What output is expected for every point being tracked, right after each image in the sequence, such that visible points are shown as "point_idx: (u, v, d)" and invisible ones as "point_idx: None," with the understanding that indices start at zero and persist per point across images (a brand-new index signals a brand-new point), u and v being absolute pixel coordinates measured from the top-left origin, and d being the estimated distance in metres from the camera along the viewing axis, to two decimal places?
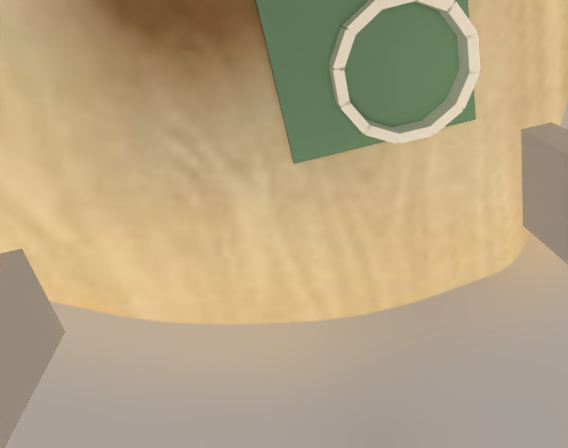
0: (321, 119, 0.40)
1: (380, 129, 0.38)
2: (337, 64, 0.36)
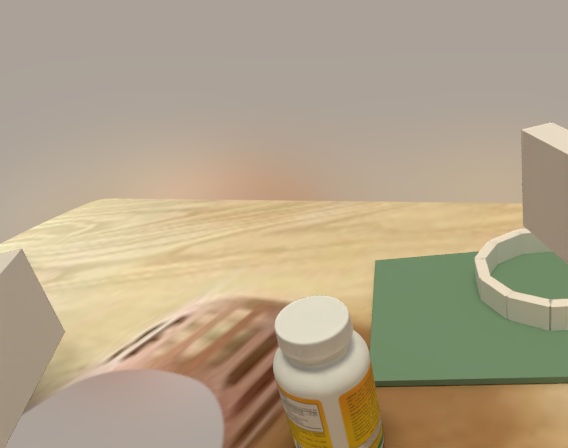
0: None
1: None
2: (545, 303, 0.34)
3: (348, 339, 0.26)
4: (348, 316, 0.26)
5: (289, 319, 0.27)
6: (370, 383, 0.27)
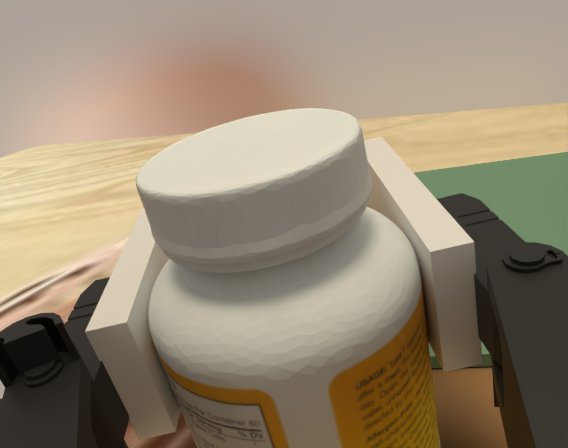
0: None
1: None
2: None
3: (359, 197, 0.08)
4: (359, 129, 0.08)
5: (184, 155, 0.09)
6: (423, 344, 0.09)
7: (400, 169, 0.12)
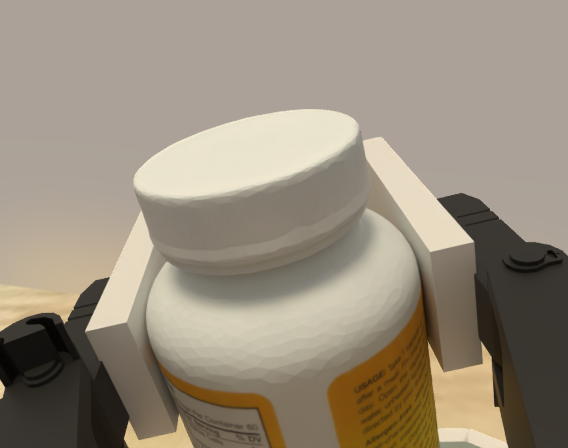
0: None
1: None
2: None
3: (358, 199, 0.08)
4: (358, 131, 0.08)
5: (182, 156, 0.09)
6: (422, 346, 0.09)
7: (400, 169, 0.12)
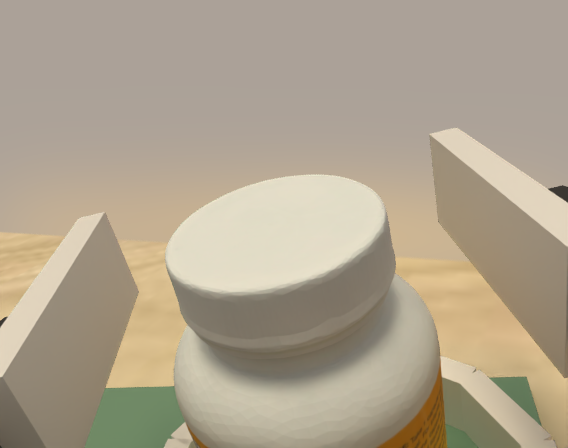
0: None
1: None
2: None
3: (385, 283, 0.08)
4: (384, 214, 0.08)
5: (210, 229, 0.09)
6: (440, 410, 0.10)
7: (494, 160, 0.11)
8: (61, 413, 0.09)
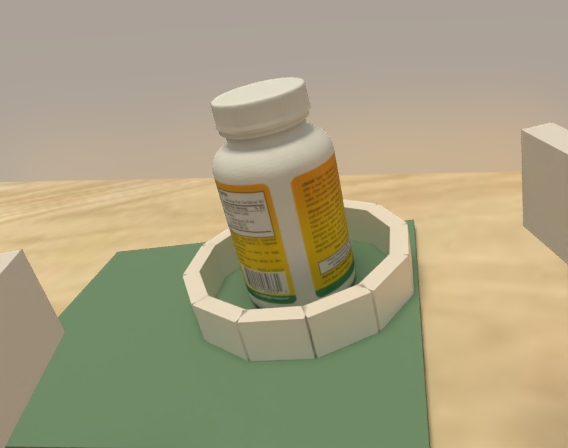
0: (339, 382, 0.19)
1: (372, 273, 0.21)
2: (233, 316, 0.20)
3: (303, 109, 0.20)
4: (303, 83, 0.20)
5: (230, 96, 0.21)
6: (334, 179, 0.21)
7: None
8: None
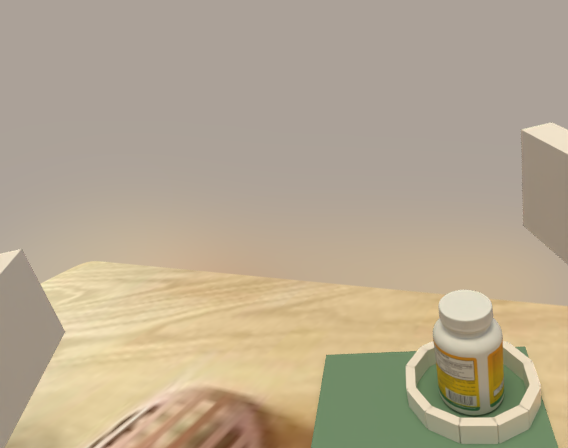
0: None
1: (524, 397, 0.40)
2: (455, 421, 0.39)
3: (492, 317, 0.39)
4: None
5: (449, 306, 0.40)
6: (502, 347, 0.40)
7: None
8: None
